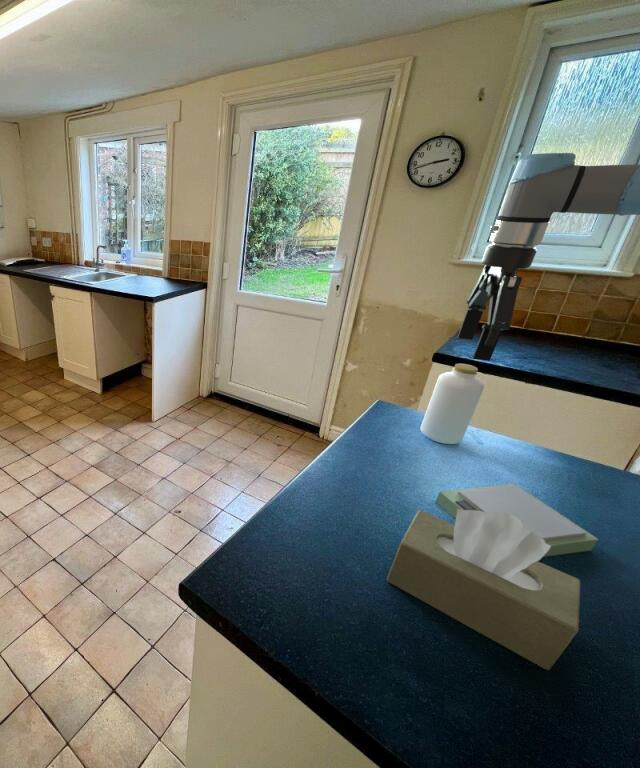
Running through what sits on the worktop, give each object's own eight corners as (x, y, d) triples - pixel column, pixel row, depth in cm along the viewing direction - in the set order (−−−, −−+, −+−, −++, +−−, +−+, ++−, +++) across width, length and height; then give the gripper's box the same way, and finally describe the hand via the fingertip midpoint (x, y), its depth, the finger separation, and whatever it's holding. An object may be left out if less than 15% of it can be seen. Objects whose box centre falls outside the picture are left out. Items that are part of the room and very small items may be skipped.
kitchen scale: (509, 493, 80) (515, 480, 79) (591, 550, 68) (600, 536, 66) (435, 501, 78) (440, 488, 77) (505, 561, 66) (513, 547, 64)
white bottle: (424, 423, 104) (448, 356, 96) (465, 436, 98) (494, 367, 90) (414, 435, 99) (438, 366, 91) (456, 450, 93) (486, 378, 85)
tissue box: (556, 621, 57) (614, 536, 50) (551, 674, 51) (617, 585, 44) (402, 544, 69) (432, 468, 62) (383, 580, 63) (414, 499, 56)
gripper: (472, 237, 91) (440, 329, 100) (509, 252, 71) (464, 366, 80) (515, 238, 88) (478, 333, 98) (566, 255, 68) (513, 373, 77)
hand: (472, 348), depth 89 cm, fingers open, 13 cm apart
